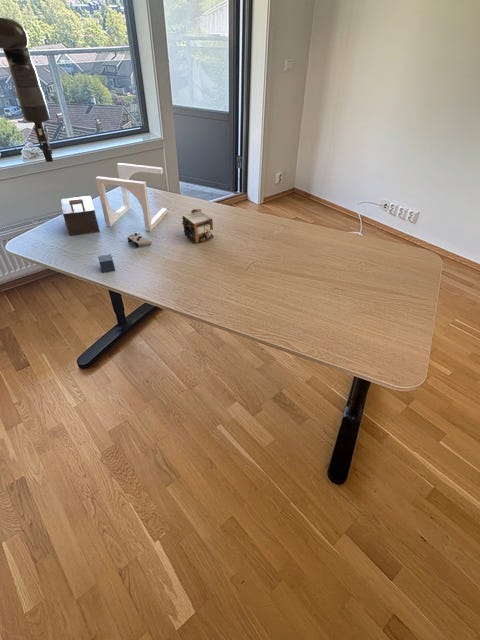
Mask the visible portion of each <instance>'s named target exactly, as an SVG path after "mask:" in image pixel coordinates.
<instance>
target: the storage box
mask: <svg viewBox="0 0 480 640" xmlns="http://www.w3.org/2000/svg"><path fill="white" fill-rule="evenodd" d="M63 218H64V222H65V226H66V229H67V231H68V235H69V237H72V236H73V237H74V236H80V235H87V234H95V233H100V231H101V230H100V227H99V222H98V218H97V215H96V211H95V212H92V213H84V214H76V215H68V216H63Z"/></svg>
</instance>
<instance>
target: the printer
mask: <svg viewBox="0 0 480 640" xmlns="http://www.w3.org/2000/svg"><path fill="white" fill-rule="evenodd" d="M181 219H182V221H181V224H182V226H183V234H184V236H186V238H188V239H190V240H191V241H192V242H194V243H200V242H203V241H207V240H210V239H213V238H214V236H215V235H214V234H213V233H212V232H211V230H212V231H214V222H213V218H212V217H210V216H209V215H207V214H205V213H203V211H202V209H201V208H196V209H192V210H191V213H187V214H183V215H182V218H181Z"/></svg>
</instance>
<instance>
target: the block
mask: <svg viewBox="0 0 480 640" xmlns="http://www.w3.org/2000/svg"><path fill="white" fill-rule="evenodd" d="M97 258H98V261H99V266H100V270H101V272H102V274H105V273H111V272H115V271H116V267H115V263H114V259H113V256H112V253H109V254H101V255H98V256H97Z"/></svg>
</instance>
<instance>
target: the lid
mask: <svg viewBox="0 0 480 640" xmlns="http://www.w3.org/2000/svg"><path fill="white" fill-rule="evenodd" d="M60 204H61V210H62V216H63V217H64V216H68V215H76V214H84V213H92V212H95V213H96V211H95V207H94V204H93V200H92V197H91V195H87V196H78V197H69V198H68V197H67V198H61V199H60Z"/></svg>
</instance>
